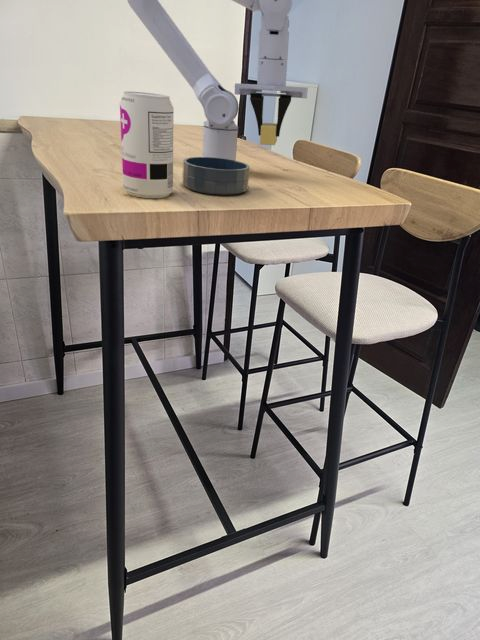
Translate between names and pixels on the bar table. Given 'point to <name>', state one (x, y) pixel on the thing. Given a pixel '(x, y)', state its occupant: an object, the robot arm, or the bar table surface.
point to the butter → (268, 134)
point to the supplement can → (147, 144)
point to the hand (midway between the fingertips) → (268, 135)
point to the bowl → (215, 175)
